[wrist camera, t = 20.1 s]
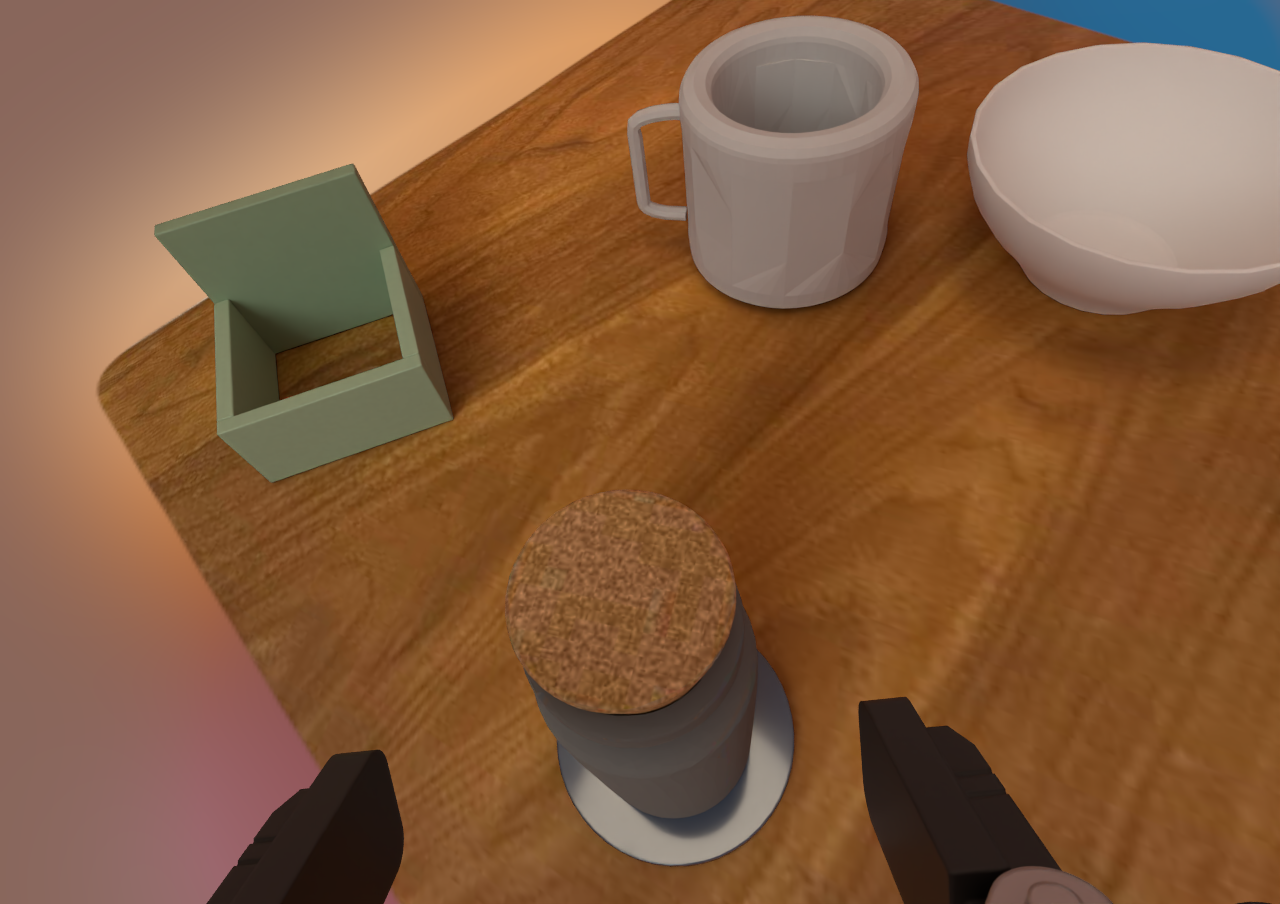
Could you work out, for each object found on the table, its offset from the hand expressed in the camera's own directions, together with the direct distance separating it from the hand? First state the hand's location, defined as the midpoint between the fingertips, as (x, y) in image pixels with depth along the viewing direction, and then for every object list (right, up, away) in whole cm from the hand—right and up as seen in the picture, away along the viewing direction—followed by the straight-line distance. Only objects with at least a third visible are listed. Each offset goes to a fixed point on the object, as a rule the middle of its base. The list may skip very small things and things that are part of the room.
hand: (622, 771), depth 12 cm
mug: (+7, +17, +29) cm, 35 cm away
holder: (-15, +9, +27) cm, 32 cm away
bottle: (+2, -5, +15) cm, 16 cm away
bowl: (+24, +15, +26) cm, 38 cm away
